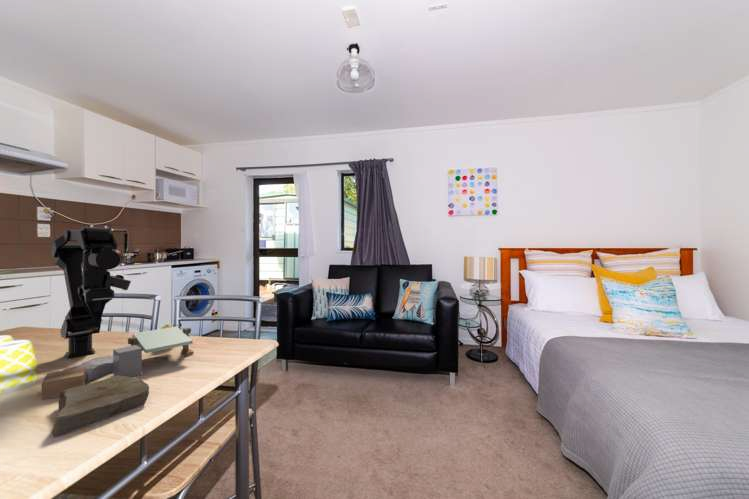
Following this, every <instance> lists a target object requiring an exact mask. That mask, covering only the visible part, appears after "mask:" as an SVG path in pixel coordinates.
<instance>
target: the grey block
mask: <svg viewBox="0 0 749 499" xmlns="http://www.w3.org/2000/svg"><path fill="white" fill-rule="evenodd" d="M112 353H113V354H112V355H113V372H112V377H114V376H126V377H133V378H134V377H135V378H139V377H142V376H143V375H142V374H143V372H142V371H143V370H142V369H143V366H142V365H143V359H142V357H143V354H142V353H143V351H142V348H140V347H139V346H137V345H132V346H131V345H129V346H122V347H118V348H114V349H112ZM141 375H142V376H141Z"/></svg>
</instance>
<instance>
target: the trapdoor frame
mask: <svg viewBox="0 0 749 499" xmlns="http://www.w3.org/2000/svg"><path fill="white" fill-rule="evenodd" d="M182 332H184V333H185V334H186V335H187V336H188V337H189V338H190V336H189V334H191V333H192V328H191V327H183V328H182ZM127 344H128V345H130V346H132V345H137V338H136V337H133V336H130V337H127ZM189 345H190V344H189ZM189 345H184V346H182V349H180V350H181V352H180V353H181V354H182V355H184V356H186V357H188V356H193V355H194V350H192V349H190V348H189Z"/></svg>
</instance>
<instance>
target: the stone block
mask: <svg viewBox="0 0 749 499" xmlns="http://www.w3.org/2000/svg"><path fill="white" fill-rule="evenodd" d="M80 367H86V383H87V382H92V381H95V380H97V379H100V378H102V377H104V376H106V375H109V374H110V373H113V354H112V355H111V354H108V355H104V356H98V357H95V358H91V359H89V360H87V361H84V362H81V363H80V364H76V365H73V366H69V367H66V368H64V369H62V370H68V369H74V368H80Z"/></svg>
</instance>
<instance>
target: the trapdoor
mask: <svg viewBox="0 0 749 499" xmlns="http://www.w3.org/2000/svg"><path fill="white" fill-rule="evenodd" d="M132 337H136V338H137V346H139V347H140V348H142V352H144V353H145V354H150V353H154V352H158V351H165V350H167V349H168V350H169V349H174V348H178V347H183V346H184V345H193V344H194V343H193V342H194V340H193V339H192V338H190V336H189V337H188V336H187V335H186V334H185V333H184V332H183V330H182V329H180V328H179V327H178V326H172V327H170V328H164V329H161V328H158V329H157V328H156V329H152V330H146V331H145V330H144V331H140V332H134V333H132Z"/></svg>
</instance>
